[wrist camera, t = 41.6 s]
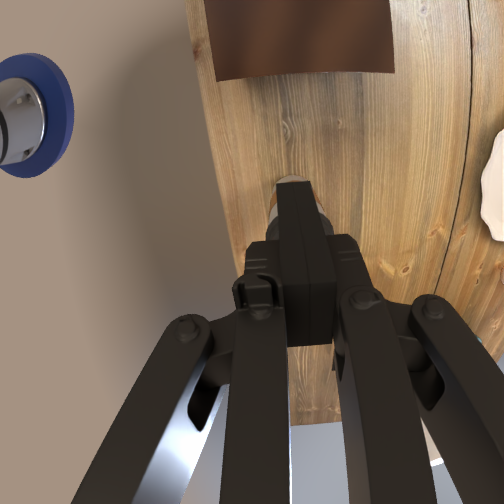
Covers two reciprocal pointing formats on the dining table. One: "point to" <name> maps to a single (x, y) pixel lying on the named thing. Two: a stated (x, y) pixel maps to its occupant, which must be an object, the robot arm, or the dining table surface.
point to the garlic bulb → (502, 275)
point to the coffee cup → (273, 215)
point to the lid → (299, 37)
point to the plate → (494, 189)
